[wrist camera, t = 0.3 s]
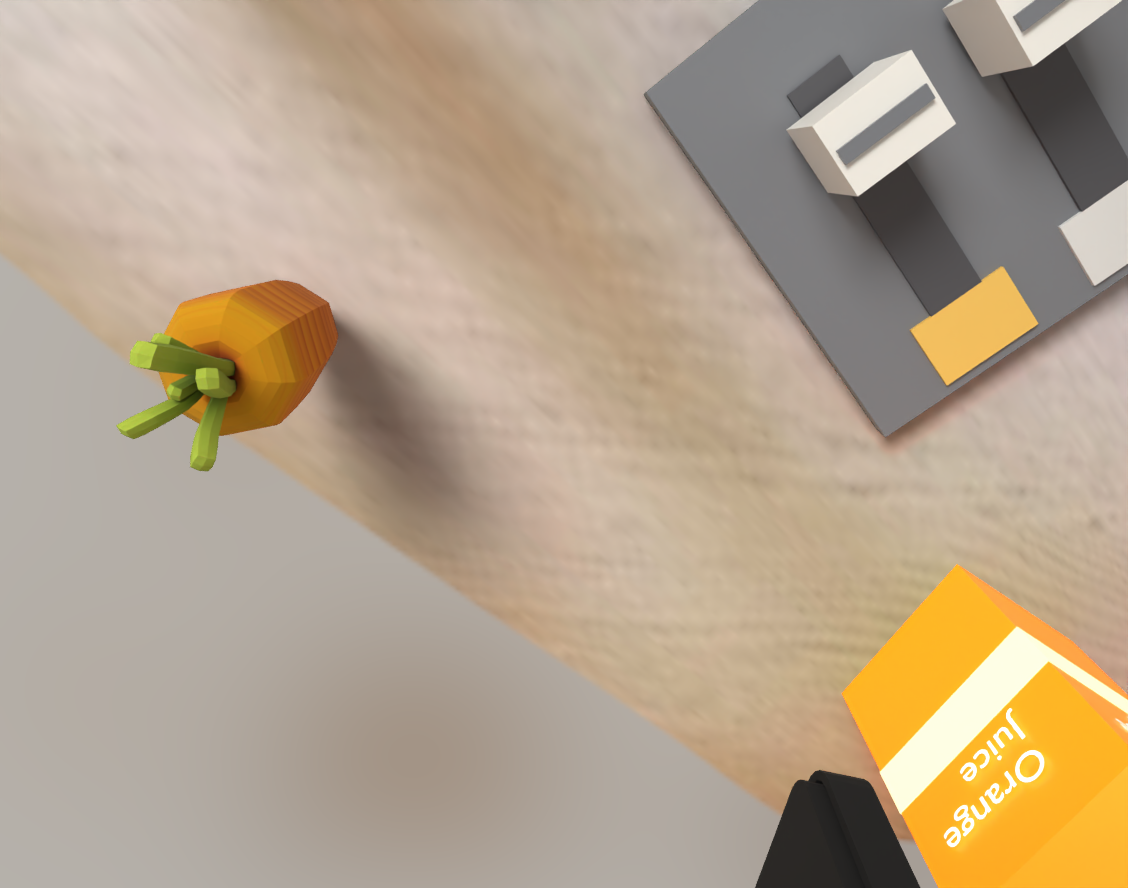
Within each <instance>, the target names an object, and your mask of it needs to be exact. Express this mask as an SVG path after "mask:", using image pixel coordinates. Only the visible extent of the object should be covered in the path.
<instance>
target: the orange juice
mask: <svg viewBox="0 0 1128 888" xmlns="http://www.w3.org/2000/svg"><path fill="white" fill-rule="evenodd" d="M842 695H843V697H844V699H845V701H846V703H847V705H848V707H849V709H850V711H851V713H852V715H853V717H854V719H855V721H856V723H857V725H858V727H859V729H860V731H861V733H862V735H863V737H864V739H865V741H866V743H867V745H868V747H869V749H870V751H871V753H872V755H873V757H874V759H875V761H876V763H877V765H878V767H879V769H880V774H881V776H882V778H883V780H884V782H885V784H886V786H887V788H888V790H889V792H890V794H891V796H892V798H893V800H894V802H895V804H896V806H897V808H898V810H899V812H900V814H902V815H903V817H904V819H905V821H906V823H907V825H908V827H909V829H910V831H911V833H912V835H913V837H914V839H915V842H916V844H917V846H918V848H919V850H920V851H921V854H922V855H923V858H924V860H925V862H926V864H927V866H928V868H929V869H930V871H931V874H932V876H933V878H934V880H935V881H936V884H937V886H938V888H1128V695H1127V694H1126V693H1125V692H1124V691H1123V690H1122V689H1121V688H1120V687H1119V686H1118V685H1117V684H1116V683H1115V682H1114V681H1113V680H1112V679H1110V678H1109V677H1108V676H1107V675H1106V674H1105V673H1104V672H1103V671H1102V670H1101V669H1100V668H1099V667H1098V666H1097V665H1096V664H1095V663H1094V662H1093V661H1092V660H1091V659H1090V658H1089V657H1088V656H1087V655H1086V654H1085V653H1084V652H1083V651H1082V650H1081V649H1080V648H1079V647H1077V646H1076V645H1075V644H1074V643H1073V642H1072V641H1071V640H1069V639H1068V638H1066V637H1065V636H1063V635H1062V634H1060V633H1059V632H1057V631H1056V630H1054V629H1053V628H1051V627H1050V626H1048V625H1047V624H1045V623H1044V622H1042V621H1041V620H1040V619H1038V618H1037V617H1035V616H1034V615H1032V614H1031V613H1029V612H1028V611H1026V610H1025V609H1023V608H1022V607H1020V606H1019V605H1017V604H1016V603H1014V602H1013V601H1011V600H1010V599H1008V598H1007V597H1005V596H1004V595H1002V594H1001V593H999V592H998V591H996V590H995V589H993V588H992V587H990V586H989V585H987V584H986V583H984V582H983V581H981V580H980V579H978V578H977V577H975V576H974V575H972V574H971V573H969V572H968V571H966V570H965V569H963V568H962V567H961V566H959V565H958V564H957V565H956V566H955V567H954V568H953V570H952V571H951V572H950V573H949V574H948V575H947V576H946V577H945V578H944V580H943V581H942V582H941V583H940V584H939V585H938V586H937V587H936V589H935V590H934V591H933V592H932V593H931V594H930V595H929V596H928V597H927V599H926V600H925V601H924V602H923V603H922V604H921V605H920V606H919V608H918V609H917V610H916V611H915V612H914V613H913V614H912V615H911V617H910V618H909V619H908V620H907V621H906V622H905V623H904V624H903V625H902V627H901V628H900V629H899V630H898V631H897V632H896V633H895V634H894V636H893V637H892V638H891V639H890V640H889V641H888V642H887V643H886V644H885V646H884V647H883V648H882V649H881V650H880V651H879V652H878V653H877V655H876V656H875V657H874V658H873V659H872V660H871V661H870V662H869V664H868V665H867V666H866V667H865V668H864V669H863V670H862V671H861V672H860V674H859V675H858V676H857V677H856V678H855V679H854V680H853V681H852V683H851V684H850V685H849V686H848V687H847V688H846V689H845V690H844V691H843V693H842Z"/></svg>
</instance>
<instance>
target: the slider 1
mask: <svg viewBox="0 0 1128 888" xmlns="http://www.w3.org/2000/svg"><path fill="white" fill-rule="evenodd" d="M955 124H956V123H955V121H954V119H953V118H952V116H951V114H950V113H949V111H948V109H947V108H946V106H945V104H944V103H943V101H942V99H941V98H940V96H939V94H938V93H937V91H936V89H935V88H934V86H933V85H932V83H931V81H930V80H929V78H928V76H927V75H926V73H925V71H924V70H923V68H922V66H921V65H920V63H919V61H918V60H917V58H916V56H915V55H914V53H913V51H912V50H909V51H906V52H903V53H900V54H897V55H894V56H891V57H888V58H885V59H882V60H879V61H876V62H873V63H872V64H871V65H870V66H868V67H867V68H866V69H864V70H863V71H862V72H860V73H859V74H858V75H857V76H855V77H854V78H853V79H851V80H850V81H849V82H848V83H846V84H845V85H844V86H842V87H841V88H840V89H838V90H837V91H836V92H835V93H833V94H832V95H831V96H829V97H828V98H827V99H826V100H824V101H823V102H822V103H820V104H819V105H818V106H817V107H815V108H814V109H813V110H811V111H810V112H809V113H807V114H806V115H805V116H804V117H802V118H801V119H800V120H798V121H797V122H796V123H795V124H793V125H792V126H791V127H789V128H788V129H787V132H788V133H789V135H790V136H791V138H792V139H793V141H794V142H795V144H796V145H797V147H798V149H799V150H800V152H801V153H802V155H803V156H804V158H805V159H806V161H807V162H808V164H809V165H810V167H811V168H812V170H813V171H814V173H815V174H816V176H817V177H818V179H819V180H820V182H821V183H822V185H823V186H824V188H825V190H826V191H827V193H835V194H842V195H850V196H859V195H861V194H862V193H863V192H865V191H866V190H867V189H869V188H870V187H871V186H873V185H874V184H875V183H877V182H878V181H879V180H881V179H882V178H883V177H885V176H886V175H888V174H889V173H890V172H892V171H893V170H894V169H896V168H897V167H898V166H900V165H901V164H902V163H904V162H905V161H906V160H908V159H909V158H910V157H912V156H913V155H915V154H916V153H917V152H919V151H920V150H921V149H923V148H924V147H925V146H927V145H928V144H929V143H931V142H932V141H933V140H935V139H936V138H937V137H939V136H940V135H942V134H943V133H944V132H946V131H947V130H948V129H950V128H951V127H952V126H954V125H955Z"/></svg>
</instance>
